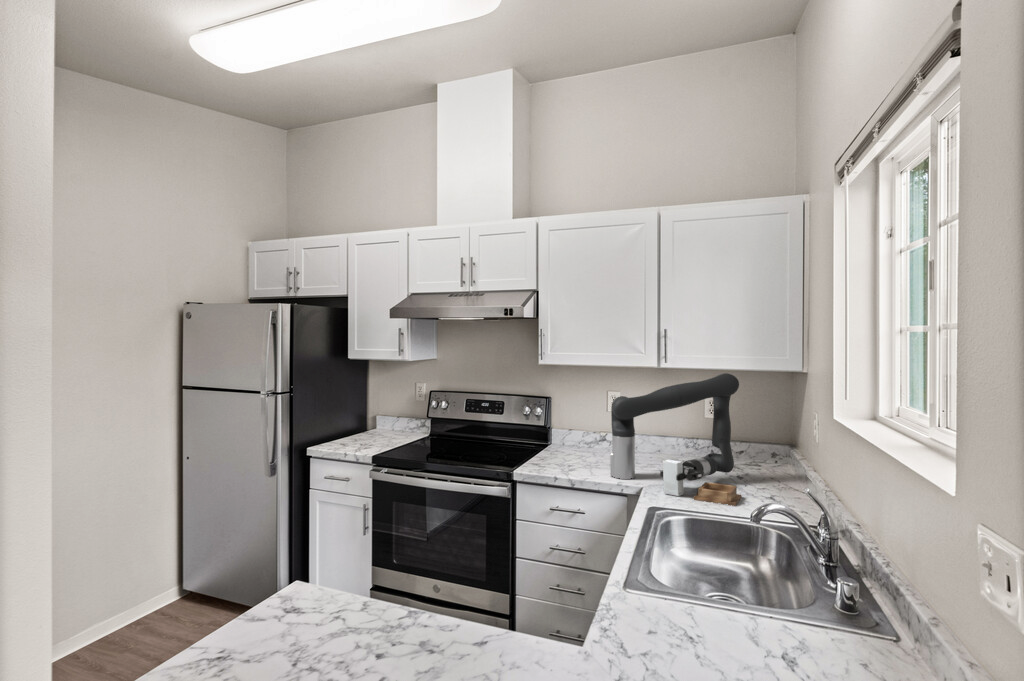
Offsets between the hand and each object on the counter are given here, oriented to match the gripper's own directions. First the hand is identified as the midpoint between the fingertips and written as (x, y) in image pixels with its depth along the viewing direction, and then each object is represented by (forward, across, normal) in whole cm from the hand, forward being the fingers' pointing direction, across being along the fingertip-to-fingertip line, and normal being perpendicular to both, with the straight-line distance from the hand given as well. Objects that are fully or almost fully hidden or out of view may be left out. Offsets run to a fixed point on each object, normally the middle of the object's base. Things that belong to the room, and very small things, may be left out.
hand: (669, 475), depth 202 cm
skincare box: (-2, 0, +7) cm, 8 cm away
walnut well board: (-10, +13, +7) cm, 18 cm away
